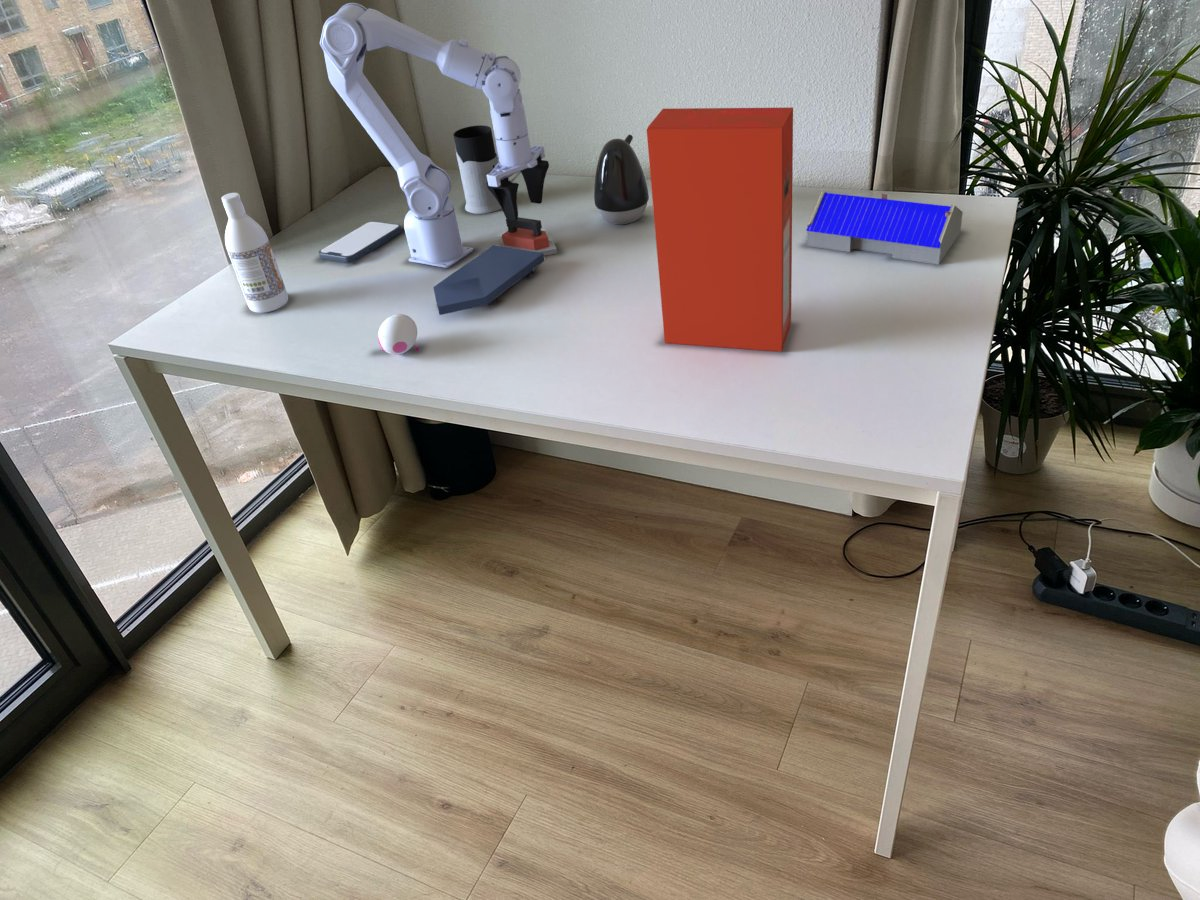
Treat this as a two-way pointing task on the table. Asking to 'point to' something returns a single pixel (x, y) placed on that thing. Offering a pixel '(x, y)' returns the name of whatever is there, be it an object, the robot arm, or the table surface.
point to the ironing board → (485, 278)
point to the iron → (527, 236)
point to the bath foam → (252, 259)
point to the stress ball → (397, 334)
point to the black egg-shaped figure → (620, 183)
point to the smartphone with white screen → (360, 242)
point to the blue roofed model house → (884, 226)
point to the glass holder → (477, 167)
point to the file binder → (723, 224)
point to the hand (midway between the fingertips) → (524, 210)
